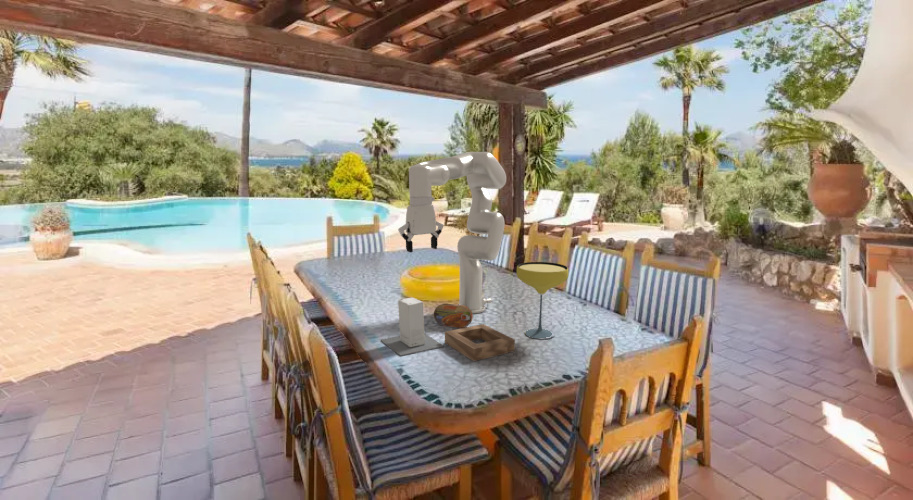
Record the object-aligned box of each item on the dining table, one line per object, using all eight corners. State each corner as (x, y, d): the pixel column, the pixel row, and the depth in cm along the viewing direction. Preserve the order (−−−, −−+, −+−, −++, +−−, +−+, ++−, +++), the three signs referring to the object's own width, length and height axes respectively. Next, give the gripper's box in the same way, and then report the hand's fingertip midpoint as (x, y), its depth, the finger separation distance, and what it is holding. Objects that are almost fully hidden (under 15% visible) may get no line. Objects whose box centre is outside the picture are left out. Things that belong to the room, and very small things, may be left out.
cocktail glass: (567, 329, 177) (571, 263, 173) (562, 346, 160) (565, 274, 156) (520, 323, 183) (522, 260, 179) (509, 339, 166) (511, 269, 162)
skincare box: (425, 344, 159) (425, 302, 157) (409, 348, 156) (408, 304, 154) (413, 337, 166) (413, 296, 164) (398, 340, 163) (397, 298, 161)
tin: (433, 324, 182) (433, 303, 180) (436, 322, 184) (436, 301, 183) (470, 329, 176) (471, 307, 175) (473, 326, 179) (473, 305, 178)
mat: (421, 332, 172) (421, 331, 172) (444, 346, 159) (444, 345, 159) (380, 340, 164) (380, 339, 164) (400, 356, 151) (400, 355, 151)
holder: (483, 334, 171) (483, 324, 170) (514, 351, 156) (514, 339, 155) (444, 342, 162) (444, 331, 162) (473, 361, 147) (474, 349, 147)
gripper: (436, 199, 171) (437, 245, 175) (393, 202, 162) (395, 251, 166) (447, 200, 165) (448, 249, 168) (402, 204, 156) (404, 255, 159)
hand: (422, 250), depth 167 cm, fingers open, 9 cm apart
